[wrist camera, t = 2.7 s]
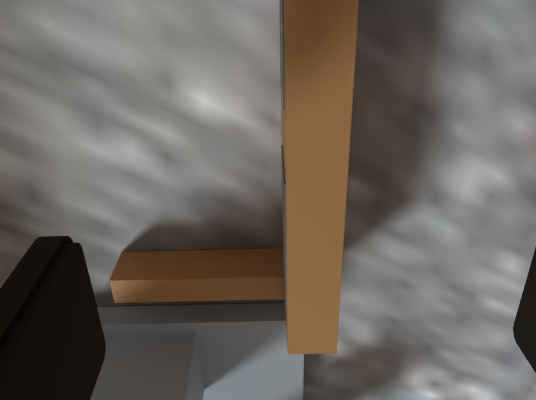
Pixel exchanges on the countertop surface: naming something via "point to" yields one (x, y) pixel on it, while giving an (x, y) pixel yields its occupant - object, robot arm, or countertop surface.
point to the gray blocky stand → (198, 353)
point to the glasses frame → (283, 194)
